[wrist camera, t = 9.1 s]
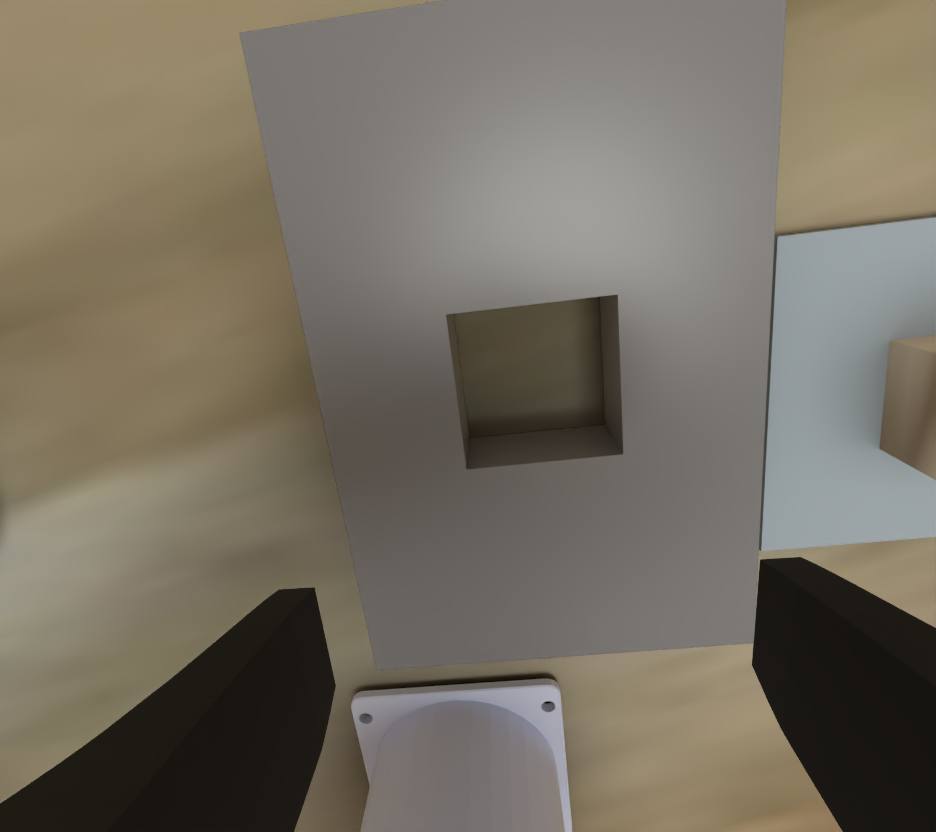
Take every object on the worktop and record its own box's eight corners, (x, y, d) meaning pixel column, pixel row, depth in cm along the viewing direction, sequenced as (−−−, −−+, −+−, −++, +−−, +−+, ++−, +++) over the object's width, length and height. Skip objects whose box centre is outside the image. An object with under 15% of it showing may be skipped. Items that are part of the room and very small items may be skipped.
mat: (1065, 515, 18) (1084, 524, 18) (752, 541, 19) (761, 551, 18) (1145, 190, 15) (1170, 188, 14) (767, 236, 16) (777, 236, 15)
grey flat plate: (721, 593, 20) (754, 643, 17) (389, 619, 20) (376, 670, 18) (738, -7, 14) (789, -55, 12) (278, 64, 15) (239, 32, 12)
